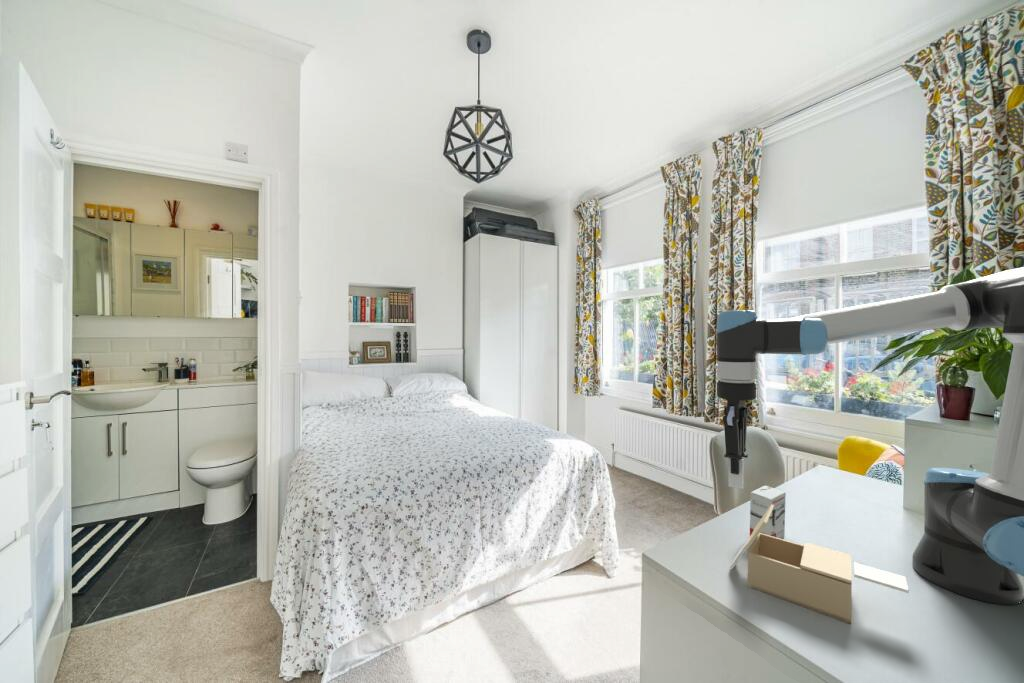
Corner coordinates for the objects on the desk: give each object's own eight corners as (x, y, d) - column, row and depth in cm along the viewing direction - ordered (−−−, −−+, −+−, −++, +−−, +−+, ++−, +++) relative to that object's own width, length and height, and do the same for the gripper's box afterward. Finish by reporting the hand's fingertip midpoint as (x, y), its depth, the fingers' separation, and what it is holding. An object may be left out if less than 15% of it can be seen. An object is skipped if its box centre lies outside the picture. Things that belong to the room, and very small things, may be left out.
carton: (850, 592, 78) (851, 558, 78) (851, 624, 70) (851, 585, 69) (757, 562, 88) (757, 532, 88) (747, 586, 80) (748, 552, 80)
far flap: (774, 505, 86) (771, 503, 86) (766, 523, 78) (763, 521, 78) (739, 553, 90) (737, 552, 91) (729, 575, 82) (726, 573, 83)
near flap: (800, 567, 74) (800, 564, 74) (804, 544, 82) (804, 542, 82) (910, 601, 65) (910, 598, 65) (903, 572, 73) (903, 569, 73)
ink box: (770, 546, 95) (770, 498, 95) (748, 537, 99) (749, 491, 99) (785, 536, 100) (786, 490, 99) (764, 528, 104) (765, 484, 103)
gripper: (724, 376, 93) (724, 474, 93) (709, 382, 83) (709, 491, 84) (761, 379, 88) (761, 482, 88) (749, 385, 78) (749, 501, 79)
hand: (736, 486), depth 86 cm, fingers closed
